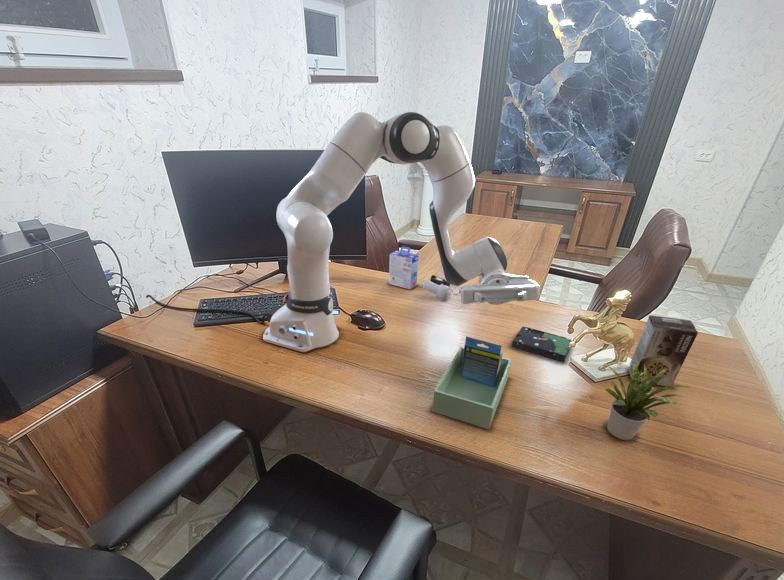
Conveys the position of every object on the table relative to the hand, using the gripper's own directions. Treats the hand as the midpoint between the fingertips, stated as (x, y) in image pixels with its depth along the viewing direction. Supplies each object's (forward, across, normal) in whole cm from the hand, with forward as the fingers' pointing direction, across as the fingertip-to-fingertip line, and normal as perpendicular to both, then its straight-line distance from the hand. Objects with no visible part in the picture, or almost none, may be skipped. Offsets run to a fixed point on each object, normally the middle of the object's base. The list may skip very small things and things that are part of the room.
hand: (501, 298), depth 97 cm
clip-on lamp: (-42, -14, +8) cm, 45 cm away
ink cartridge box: (-49, -31, +4) cm, 59 cm away
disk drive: (-13, +13, +18) cm, 26 cm away
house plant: (+19, +25, +27) cm, 41 cm away
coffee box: (-4, +38, +23) cm, 44 cm away
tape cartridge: (+6, -6, +20) cm, 21 cm away
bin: (+11, -8, +21) cm, 25 cm away
